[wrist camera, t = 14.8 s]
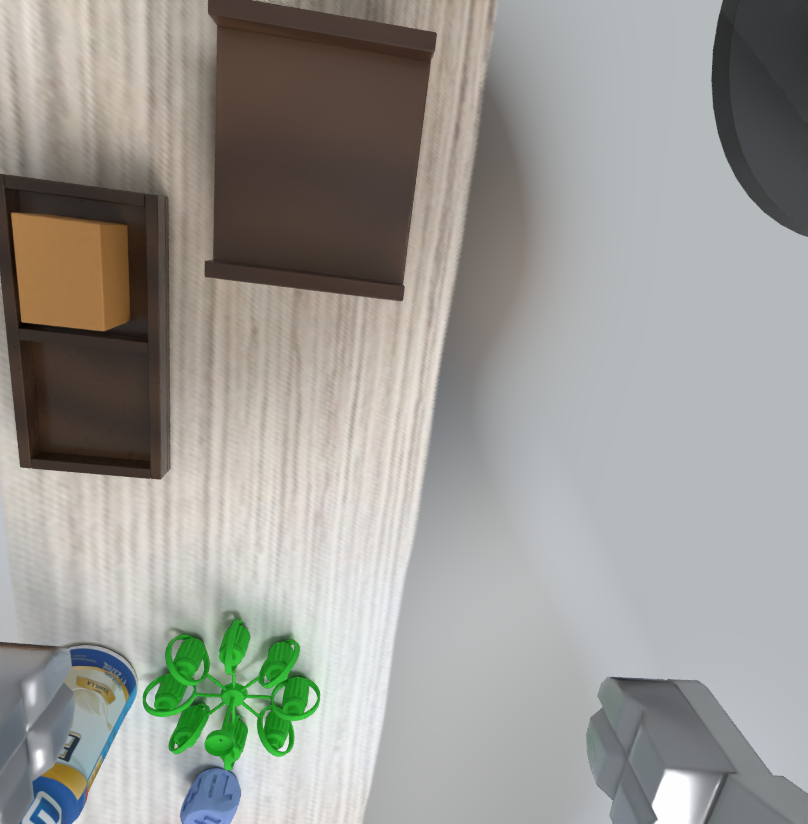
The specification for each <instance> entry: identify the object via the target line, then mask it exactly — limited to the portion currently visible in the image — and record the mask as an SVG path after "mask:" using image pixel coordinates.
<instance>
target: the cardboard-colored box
mask: <svg viewBox="0 0 808 824" xmlns="http://www.w3.org/2000/svg"><path fill="white" fill-rule="evenodd" d="M11 217H12V228H13V238H14V249H15V259H16V270H17V280H18V291H19V301H20V312H21V321H22V322H24V323H33V324H42V325H51V326H60V327H70V328H79V329H88V330H97V331H106V330H109V329H111V328H114V327H116V326H119V325H122V324H124V323H127V322H129V321H130V294H129V262H128V231H127V225H126V224H121V223H113V222H105V221H97V220H90V219H82V218H74V217H67V216H59V215H51V214H33V213H11Z"/></svg>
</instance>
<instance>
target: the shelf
mask: <svg viewBox="0 0 808 824" xmlns="http://www.w3.org/2000/svg"><path fill="white" fill-rule="evenodd" d="M11 213H33V214H51V215H59V216H67V217H74V218H82V219H90V220H97V221H105V222H113V223H121V224H126V225H127V231H128V262H129V294H130V321H129V322H127V323H124V324H122V325H119V326H116V327H114V328H111V329H109V330H106V331H97V330H88V329H79V328H70V327H60V326H51V325H42V324H33V323H24V322H22V321H21V312H20V301H19V291H18V280H17V270H16V259H15V249H14V238H13V228H12V217H11ZM0 275H1V284H2V294H3V304H4V314H5V323H6V333H7V343H8V353H9V362H10V372H11V382H12V391H13V401H14V411H15V421H16V430H17V440H18V450H19V460H20V467H22V468H32V469H44V470H55V471H67V472H78V473H90V474H101V475H113V476H124V477H136V478H147V479H150V478H151V479H162V478H163V477H164V475H165V474H166V473H167V472H168V471H169V470H170V362H169V227H168V197H164V196H158V195H151V194H144V193H137V192H129V191H122V190H115V189H107V188H100V187H93V186H86V185H78V184H71V183H64V182H56V181H49V180H42V179H35V178H27V177H20V176H13V175H5V174H0Z"/></svg>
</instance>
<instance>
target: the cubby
mask: <svg viewBox="0 0 808 824" xmlns="http://www.w3.org/2000/svg"><path fill="white" fill-rule="evenodd" d="M208 14H209V15H210V17H211V18H212V19H213V21H214V22H215V23H216V25H217V70H216V127H215V184H214V241H213V260H208V261H205V277H208V278H216V279H224V280H232V281H240V282H248V283H257V284H265V285H273V286H281V287H289V288H297V289H305V290H313V291H321V292H329V293H337V294H345V295H354V296H362V297H370V298H378V299H386V300H394V301H403V296H404V288H405V287H404V285H403V279H404V271H405V263H406V255H407V247H408V239H409V232H410V224H411V216H412V208H413V200H414V192H415V184H416V176H417V168H418V160H419V152H420V144H421V136H422V128H423V120H424V112H425V104H426V96H427V88H428V80H429V73H430V65H431V60H432V57H433V54H434V51H435V44H436V36H437V34H436V33H435V32H430V31H425V30H419V29H413V28H407V27H402V26H396V25H390V24H385V23H379V22H373V21H367V20H362V19H356V18H350V17H345V16H339V15H333V14H327V13H322V12H316V11H310V10H305V9H299V8H293V7H287V6H282V5H276V4H270V3H265V2H259V1H253V0H208Z"/></svg>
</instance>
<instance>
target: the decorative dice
mask: <svg viewBox="0 0 808 824" xmlns="http://www.w3.org/2000/svg"><path fill="white" fill-rule="evenodd" d="M240 797H241V789H240V786H239V783H238V781H237V779H236V778H235V777H234V775H233V774H232V773H230V772H229V771H227V770H224V769H220V768H212V769H208V770H206V771H203V772H201V773H200V774H199V775H198V776H197V778H196V779H195V781H194V782H193V784H192V786H191V787H190V789H189V791H188V793H187V795H186V797H185V800H184V802H183V805H182V808H181V812H180V818H181V822H182V824H230V823H231V821H232V819H233V817H234V815H235V813H236V810H237V807H238V805H239V801H240Z"/></svg>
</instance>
